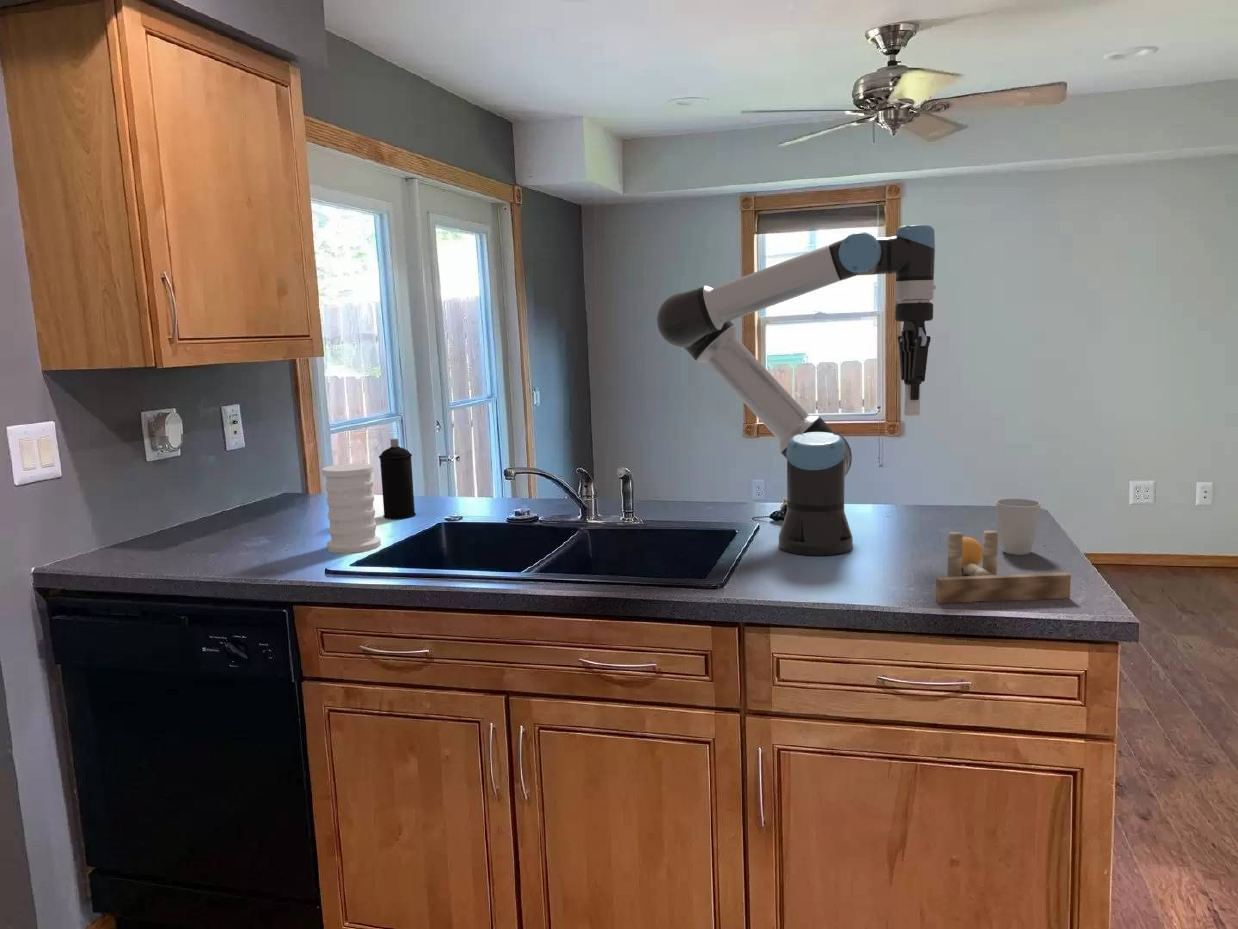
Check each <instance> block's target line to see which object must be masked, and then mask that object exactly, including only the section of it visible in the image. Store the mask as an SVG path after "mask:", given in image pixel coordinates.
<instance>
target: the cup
mask: <svg viewBox="0 0 1238 929" xmlns="http://www.w3.org/2000/svg"><path fill="white" fill-rule="evenodd" d="M995 503H996V507H995V508H996V509H995V510H996V525H997V532H998V541H999V543H1000V545H1001V550H1002V553H1003V552H1004V553H1006V554H1010V555H1018V556H1019V555H1020V556H1021V555H1029V554H1030V553H1031V551H1032V548H1033V546H1034V543H1035V542H1036V536H1037V534H1038V533H1037V532H1038V527H1039V522H1040V513H1041V502H1039V501H1036V500H1033V499H1026V498H1002V499H997V500H996V501H995Z"/></svg>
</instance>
